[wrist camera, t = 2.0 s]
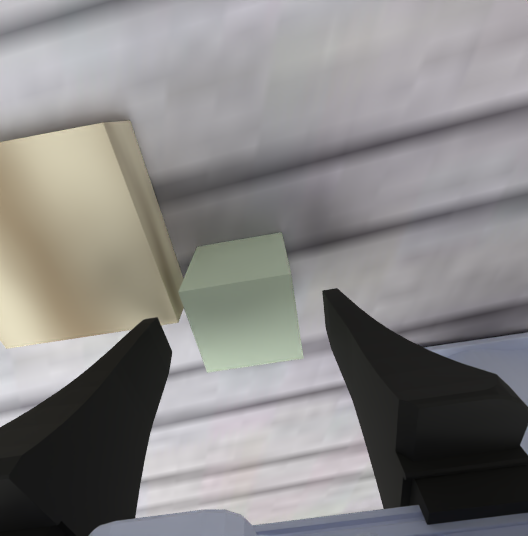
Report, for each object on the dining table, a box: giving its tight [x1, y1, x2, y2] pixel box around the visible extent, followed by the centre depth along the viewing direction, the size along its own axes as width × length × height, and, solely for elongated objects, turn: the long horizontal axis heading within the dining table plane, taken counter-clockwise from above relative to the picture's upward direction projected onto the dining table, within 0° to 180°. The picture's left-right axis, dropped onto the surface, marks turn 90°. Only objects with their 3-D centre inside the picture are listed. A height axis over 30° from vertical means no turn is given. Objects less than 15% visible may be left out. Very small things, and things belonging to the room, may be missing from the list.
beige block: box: [0, 121, 184, 349], centre depth 14 cm, size 9×9×3 cm
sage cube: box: [178, 232, 303, 373], centre depth 15 cm, size 4×4×4 cm
